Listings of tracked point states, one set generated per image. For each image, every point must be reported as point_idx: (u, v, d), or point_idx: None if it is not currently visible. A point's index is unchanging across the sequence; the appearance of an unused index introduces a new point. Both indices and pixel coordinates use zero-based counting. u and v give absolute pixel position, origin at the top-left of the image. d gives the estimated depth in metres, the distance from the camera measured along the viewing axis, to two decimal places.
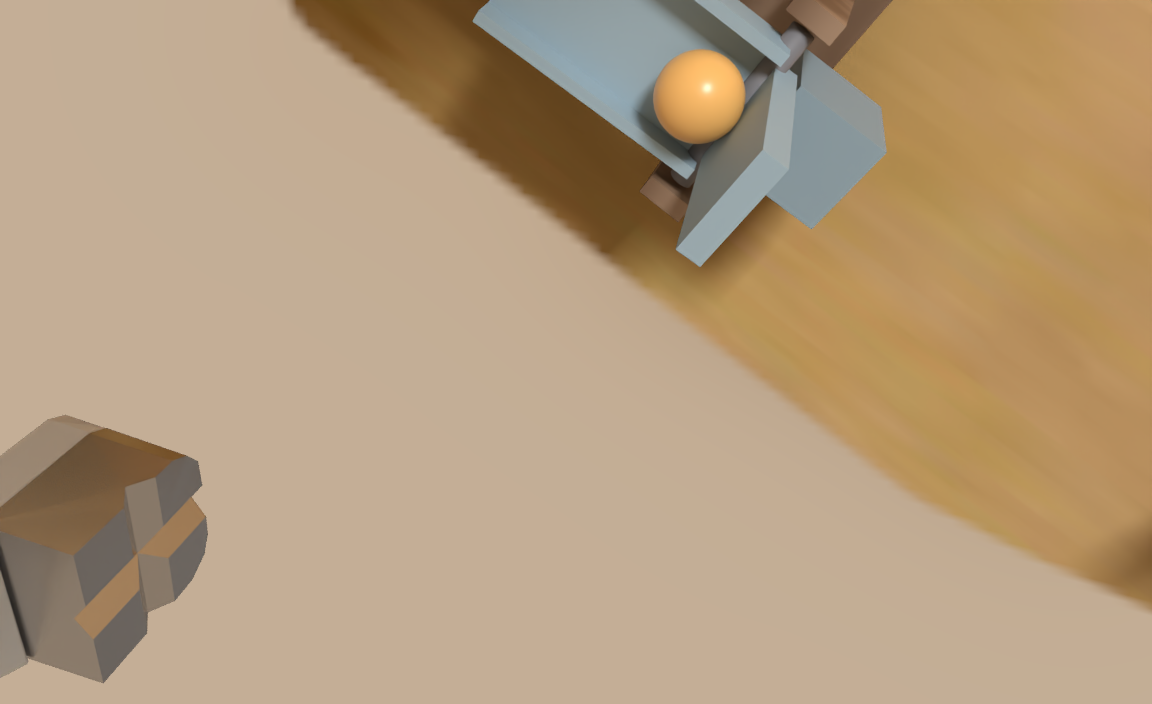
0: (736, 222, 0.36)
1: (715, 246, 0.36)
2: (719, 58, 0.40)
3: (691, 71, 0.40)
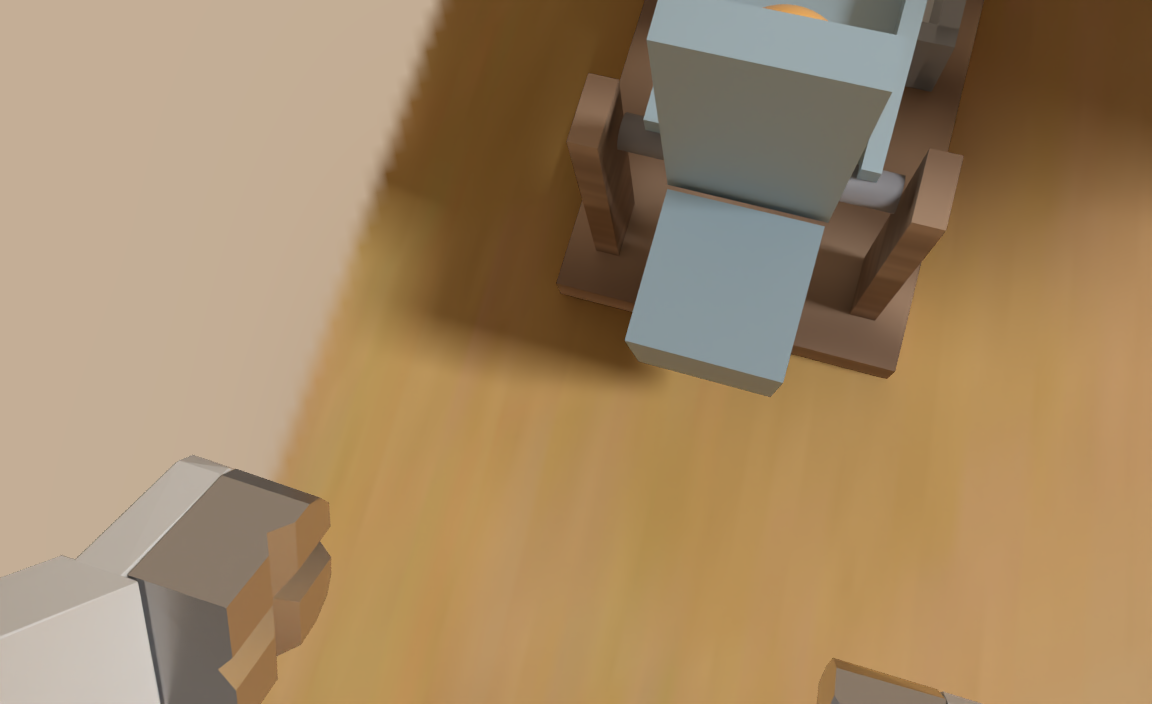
0: (757, 58, 0.20)
1: (697, 45, 0.20)
2: None
3: None
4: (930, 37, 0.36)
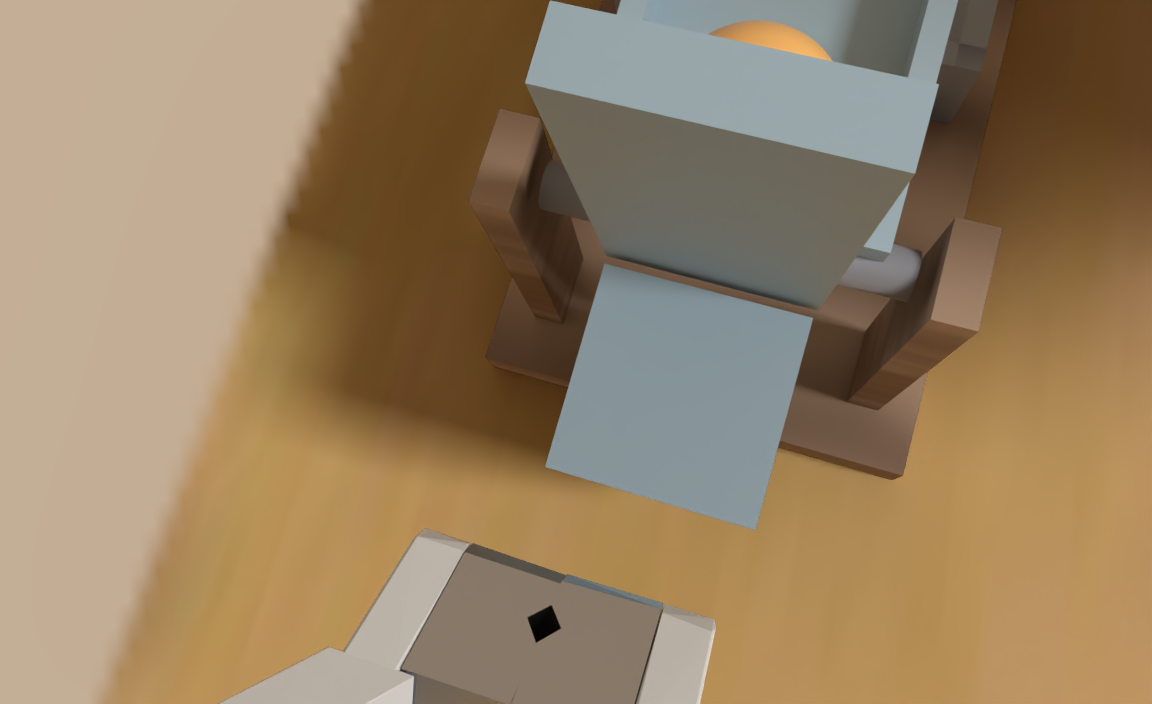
0: (699, 114, 0.12)
1: (604, 93, 0.13)
2: None
3: (821, 58, 0.19)
4: (950, 59, 0.29)
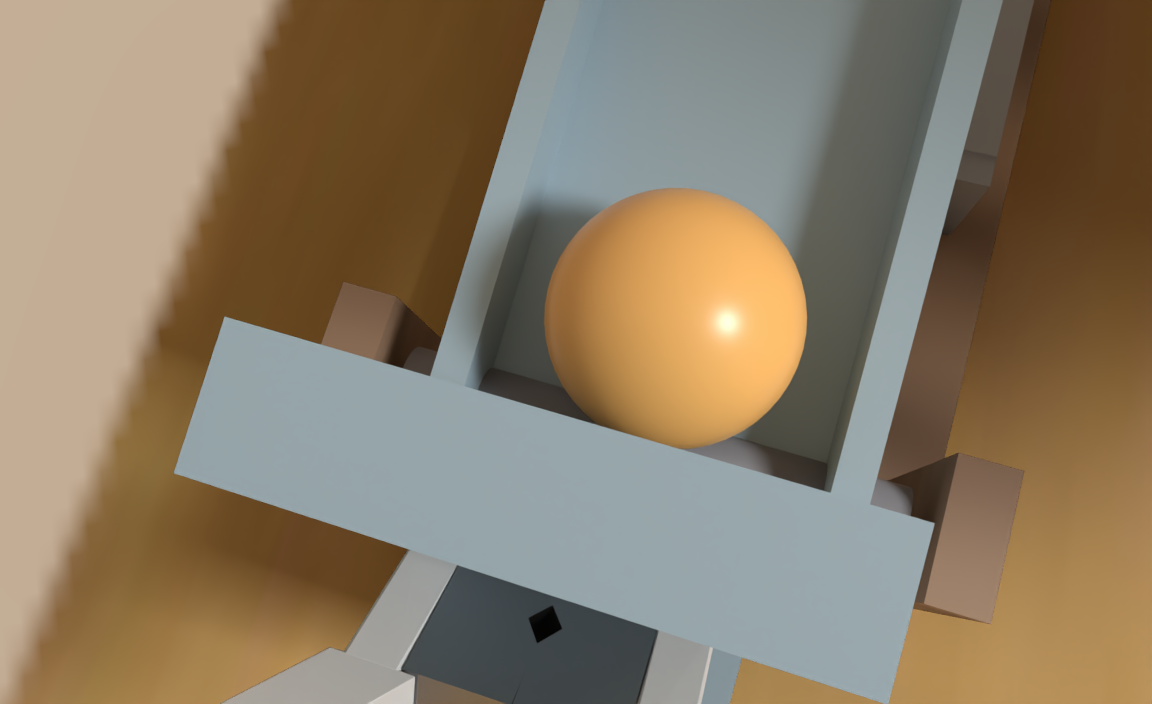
0: (483, 555, 0.07)
1: (313, 503, 0.07)
2: (806, 326, 0.14)
3: (767, 253, 0.13)
4: None
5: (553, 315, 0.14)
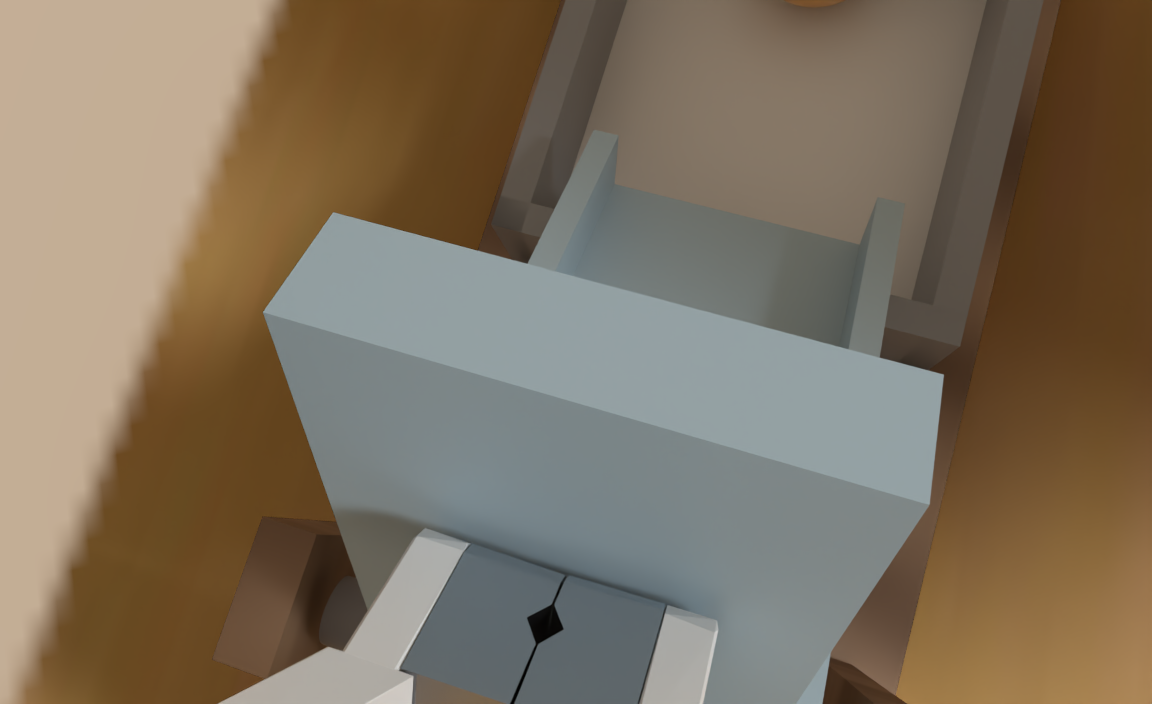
0: (553, 383, 0.07)
1: (395, 338, 0.07)
2: None
3: None
4: (920, 327, 0.22)
5: None
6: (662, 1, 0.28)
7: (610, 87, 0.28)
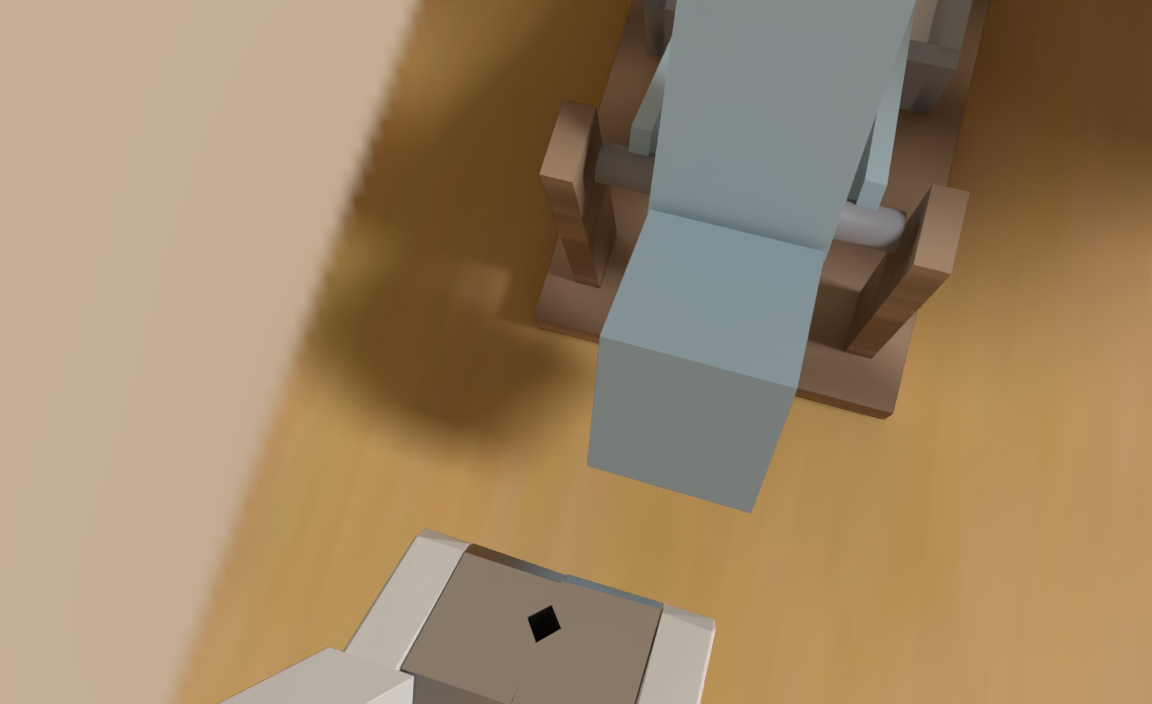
0: None
1: None
2: None
3: None
4: (930, 58, 0.34)
5: None
6: None
7: None
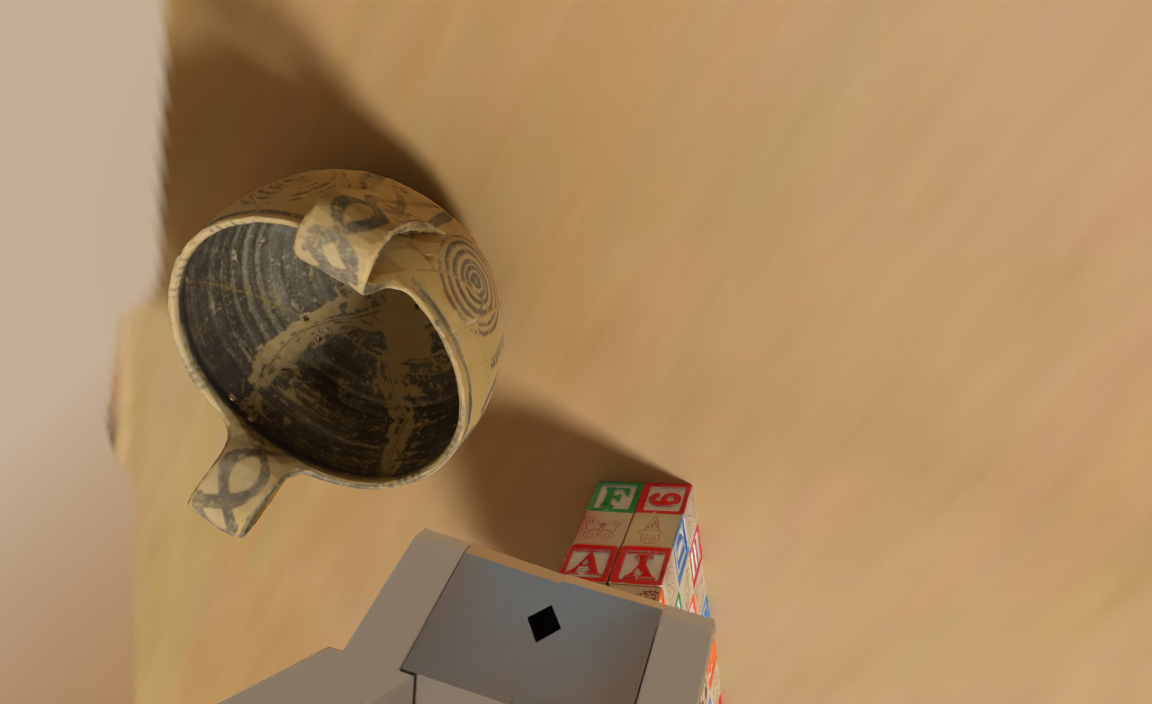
0: None
1: None
2: None
3: None
4: None
5: None
6: None
7: None
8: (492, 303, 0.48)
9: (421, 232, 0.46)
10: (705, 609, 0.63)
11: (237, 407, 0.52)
